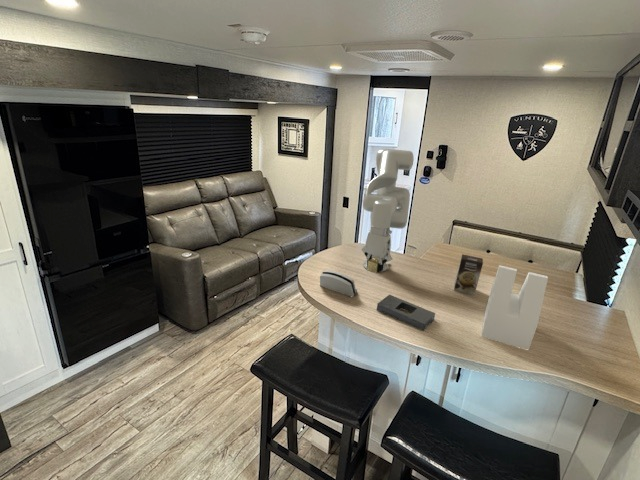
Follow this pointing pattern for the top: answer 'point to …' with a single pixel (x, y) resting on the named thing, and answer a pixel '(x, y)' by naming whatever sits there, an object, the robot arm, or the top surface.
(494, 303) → the white slotted block
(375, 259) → the brass cube
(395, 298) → the grey square hole block
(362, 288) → the top surface
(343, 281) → the hinge
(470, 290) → the coffee box
